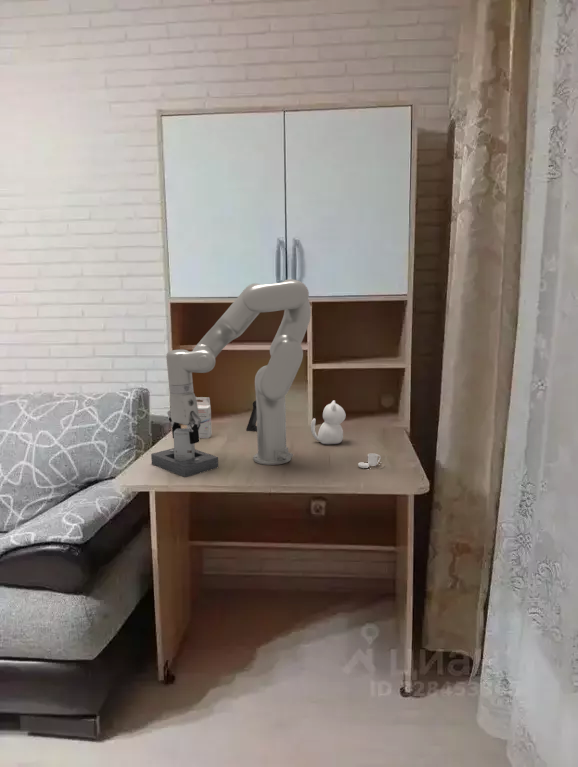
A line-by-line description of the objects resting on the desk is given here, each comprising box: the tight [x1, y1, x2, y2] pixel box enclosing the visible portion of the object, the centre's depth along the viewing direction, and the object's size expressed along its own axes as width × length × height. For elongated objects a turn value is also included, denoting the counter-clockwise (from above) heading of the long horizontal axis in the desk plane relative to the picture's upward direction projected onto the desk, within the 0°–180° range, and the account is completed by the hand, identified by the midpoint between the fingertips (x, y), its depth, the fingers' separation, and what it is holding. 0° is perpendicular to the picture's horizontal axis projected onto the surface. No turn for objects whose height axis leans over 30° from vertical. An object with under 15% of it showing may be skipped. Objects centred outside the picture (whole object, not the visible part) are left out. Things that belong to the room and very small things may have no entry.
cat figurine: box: [310, 400, 347, 445], centre depth 242 cm, size 9×12×15 cm
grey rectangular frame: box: [150, 447, 219, 478], centre depth 221 cm, size 19×13×4 cm
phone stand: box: [246, 399, 257, 432], centre depth 262 cm, size 9×6×12 cm, turn 74°
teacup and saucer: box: [357, 452, 382, 469], centre depth 217 cm, size 9×8×4 cm
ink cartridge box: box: [186, 396, 213, 439], centre depth 254 cm, size 9×5×15 cm, turn 84°
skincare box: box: [173, 427, 196, 462], centre depth 220 cm, size 6×4×12 cm
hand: (185, 440), depth 220 cm, fingers open, 9 cm apart
